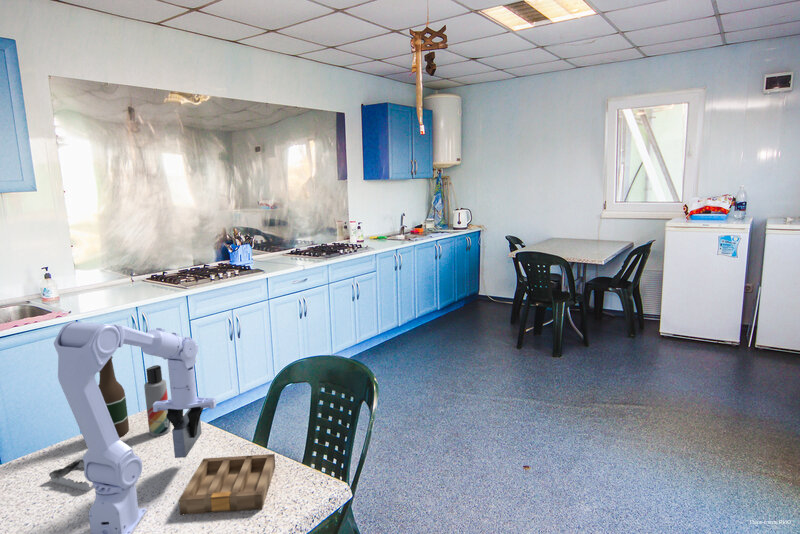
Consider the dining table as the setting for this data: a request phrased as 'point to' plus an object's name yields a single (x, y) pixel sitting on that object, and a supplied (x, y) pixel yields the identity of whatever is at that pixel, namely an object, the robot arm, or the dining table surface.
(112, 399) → the beer bottle
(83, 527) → the dining table surface
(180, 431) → the panel
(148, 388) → the lotion bottle
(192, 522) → the dining table surface
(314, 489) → the dining table surface
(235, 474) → the rack
